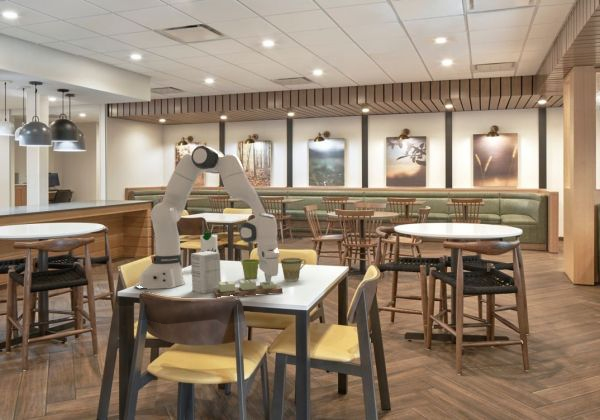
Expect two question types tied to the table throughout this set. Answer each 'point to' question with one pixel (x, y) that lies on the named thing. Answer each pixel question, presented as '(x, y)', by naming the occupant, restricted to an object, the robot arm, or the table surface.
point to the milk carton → (209, 242)
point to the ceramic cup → (291, 268)
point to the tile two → (247, 284)
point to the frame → (247, 291)
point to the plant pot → (250, 268)
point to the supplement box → (205, 271)
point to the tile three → (268, 285)
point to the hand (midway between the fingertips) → (268, 282)
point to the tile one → (226, 286)
